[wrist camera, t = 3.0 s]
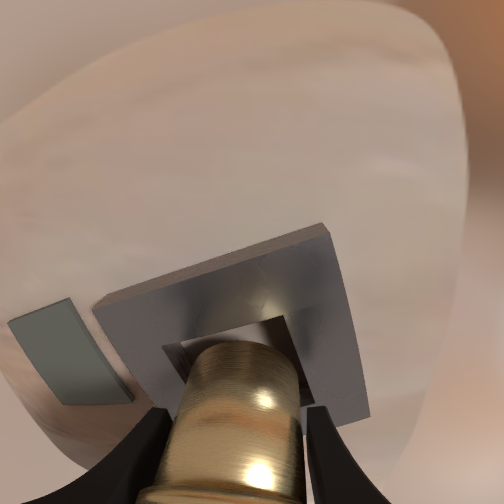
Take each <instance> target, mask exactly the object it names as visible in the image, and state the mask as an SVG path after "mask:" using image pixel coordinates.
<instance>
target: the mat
mask: <svg viewBox="0 0 504 504" xmlns="http://www.w3.org/2000/svg"><path fill="white" fill-rule="evenodd" d="M7 324H8V326H9V328H10V329H11V331H12V333H13V334H14V336H15V338H16V339H17V341H18V343H19V344H20V346H21V348H22V349H23V351H24V352H25V354H26V355H27V357H28V358H29V360H30V361H31V363H32V364H33V366H34V367H35V369H36V370H37V372H38V373H39V374H40V376H41V377H42V378H43V380H44V381H45V383H46V384H47V385H48V387H49V388H50V389H51V390H52V392H53V393H54V394H55V396H56V397H57V398H58V399H59V401H60V402H61V403H62V404H63V405H105V404H126V403H133V401H134V399H135V398H134V397H133V395H132V394H131V393H130V391H129V390H128V389H127V387H126V386H125V385H124V383H123V382H122V381H121V379H120V378H119V376H118V375H117V374H116V372H115V371H114V369H113V368H112V367H111V365H110V364H109V362H108V361H107V359H106V358H105V356H104V355H103V353H102V352H101V350H100V349H99V347H98V345H97V344H96V342H95V341H94V339H93V338H92V336H91V334H90V333H89V331H88V329H87V328H86V326H85V324H84V323H83V321H82V319H81V317H80V316H79V314H78V312H77V310H76V309H75V307H74V305H73V303H72V301H71V299H70V298H67V299H64V300H62V301H59V302H56V303H54V304H51V305H49V306H46V307H43V308H41V309H38V310H36V311H33V312H30V313H28V314H25V315H23V316H20V317H18V318H15V319H13V320H10V321H9V322H8V323H7Z"/></svg>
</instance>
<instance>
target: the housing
mask: <svg viewBox="0 0 504 504" xmlns="http://www.w3.org/2000/svg"><path fill="white" fill-rule="evenodd" d="M92 311H93V313H94V315H95V317H96V318H97V320H98V322H99V324H100V325H101V327H102V329H103V330H104V332H105V334H106V335H107V337H108V339H109V340H110V342H111V343H112V345H113V347H114V348H115V350H116V351H117V353H118V354H119V356H120V357H121V359H122V360H123V362H124V363H125V365H126V366H127V368H128V369H129V371H130V372H131V373H132V375H133V376H134V378H135V379H136V381H137V382H138V383H139V385H140V386H141V387H142V389H143V390H144V391H145V393H146V394H147V395H148V397H149V398H150V399H151V401H152V402H153V403H154V405H155V406H156V407H157V408H166V409H167V410H168V412H169V414H170V416H171V419H172V421H174V418H175V415H176V412H177V409H178V406H179V403H180V400H181V397H182V395H183V392H184V389H185V386H186V383H187V380H188V377H189V374H190V371H191V368H192V365H193V364H192V363H191V361H190V359H189V358H188V356H187V354H186V352H185V351H184V349H183V347H182V346H181V344H180V342H181V341H185V340H189V339H194V338H198V337H202V336H206V335H210V334H214V333H218V332H222V331H226V330H230V329H234V328H237V327H241V326H245V325H248V324H252V323H256V322H259V321H263V320H266V319H270V318H273V317H277V316H280V315H283V316H284V319H285V322H286V324H287V327H288V330H289V332H290V335H291V338H292V340H293V343H294V346H295V349H296V351H297V354H298V357H299V359H300V362H301V365H302V368H303V370H304V373H305V376H306V378H307V381H308V384H304V385H300V386H299V395H300V407H301V419H302V432H303V435H306V429H307V407H316V406H326V407H327V409H328V412H329V414H330V417H331V419H332V421H333V423H334V425H335V427H339V426H342V425H346V424H349V423H353V422H356V421H359V420H362V419H365V418H368V417H370V410H369V404H368V398H367V392H366V386H365V380H364V375H363V369H362V364H361V359H360V354H359V349H358V344H357V339H356V334H355V330H354V325H353V321H352V316H351V312H350V308H349V304H348V299H347V295H346V291H345V287H344V283H343V279H342V275H341V272H340V268H339V264H338V260H337V257H336V253H335V249H334V246H333V242H332V239H331V235H330V232H329V231H328V230H327V228H326V227H325V226H324V224H323V223H319V224H316V225H313V226H310V227H307V228H304V229H301V230H298V231H295V232H291V233H288V234H285V235H282V236H279V237H276V238H273V239H270V240H267V241H264V242H261V243H258V244H255V245H252V246H249V247H246V248H243V249H240V250H237V251H234V252H231V253H228V254H225V255H222V256H219V257H217V258H214V259H211V260H208V261H205V262H202V263H199V264H196V265H193V266H190V267H187V268H184V269H181V270H178V271H175V272H172V273H169V274H166V275H163V276H160V277H157V278H154V279H151V280H148V281H145V282H143V283H140V284H137V285H134V286H131V287H128V288H125V289H122V290H119V291H116V292H113V293H110V294H107V295H106V296H105V297H104V298H103V299H102V300H101V301H100V302H99V303H98V304H97V305H96V306H95V307H94V308H93V309H92Z"/></svg>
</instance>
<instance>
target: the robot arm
mask: <svg viewBox="0 0 504 504" xmlns="http://www.w3.org/2000/svg"><path fill="white" fill-rule="evenodd" d="M172 424H173V421H172V419H171V416H170V414H169V412H168V410H167V409H166V408H155V407H152V408H151V409H150V410H149V412H148V413H147V414H146V415H145V416H144V417H143V418H142V419H141V421H140V422H139V423H138V424H137V425H136V426H135V427H134V428H133V429H132V431H131V432H130V433H129V434H128V435H127V436H126V437H125V438H124V439H123V440H122V441H121V442H120V443H119V444H118V445H117V446H116V447H115V448H114V449H113V450H112V451H111V452H110V453H109V454H108V455H107V456H106V457H105V458H104V459H103V460H101V461H100V462H99V463H98V464H97V465H95V466H94V467H93V468H92V469H90V470H89V471H88V472H86V473H85V474H84V475H82V476H81V477H79V478H78V479H76V480H75V481H73V482H71V483H70V484H68V485H66V486H64V487H63V488H61V489H59V490H57V491H55V492H52V493H50V494H48V495H46V496H44V497H41V498H38V499H35V500H32V501H29V502H25V503H22V504H135V502H136V499H137V496H138V493H139V492H140V491H141V490H142V489H144V488H147V487H151V486H152V485H153V482H154V479H155V476H156V473H157V470H158V467H159V464H160V461H161V457H162V454H163V451H164V448H165V445H166V442H167V439H168V436H169V433H170V430H171V427H172ZM306 442H307V458H308V466H309V472H310V478H311V484H312V490H313V495H314V501H315V504H391V503H390V502H389V501H388V500H387V499H386V498H385V497H384V496H383V495H382V494H381V492H380V491H379V490H378V489H377V488H376V487H375V486H374V485H373V483H372V482H371V481H370V480H369V479H368V477H367V476H366V475H365V473H364V472H363V471H362V469H361V468H360V467H359V465H358V464H357V463H356V461H355V460H354V458H353V457H352V455H351V453H350V452H349V450H348V449H347V447H346V445H345V444H344V442H343V440H342V439H341V437H340V435H339V433H338V431H337V429H336V427H335V425H334V423H333V421H332V419H331V417H330V414H329V412H328V409H327V407H326V406H316V407H307V429H306Z"/></svg>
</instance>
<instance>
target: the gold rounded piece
mask: <svg viewBox="0 0 504 504" xmlns="http://www.w3.org/2000/svg"><path fill="white" fill-rule="evenodd" d="M135 504H307V496H306V477H305V461H304V446H303V432H302V419H301V407H300V395H299V384H298V375H297V372H296V369H295V367H294V365H293V364H292V363H291V361H290V360H289V359H288V358H287V357H286V356H285V355H283V354H282V353H281V352H279V351H277V350H276V349H274V348H272V347H269V346H267V345H264V344H261V343H256V342H251V341H228V342H223V343H220V344H216V345H214V346H212V347H209V348H208V349H206V350H205V351H203V352H202V353H201V354H200V355H199V356H198V357H197V358H196V359H195V361H194V363H193V365H192V368H191V371H190V374H189V377H188V380H187V383H186V386H185V389H184V392H183V395H182V397H181V400H180V403H179V406H178V409H177V412H176V415H175V418H174V421H173V424H172V427H171V430H170V433H169V436H168V439H167V442H166V445H165V448H164V451H163V454H162V457H161V461H160V464H159V467H158V470H157V473H156V476H155V479H154V482H153V485H152V486H151V487H147V488H144V489H142V490H141V491H140V492H139V493H138V496H137V499H136V502H135Z"/></svg>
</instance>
